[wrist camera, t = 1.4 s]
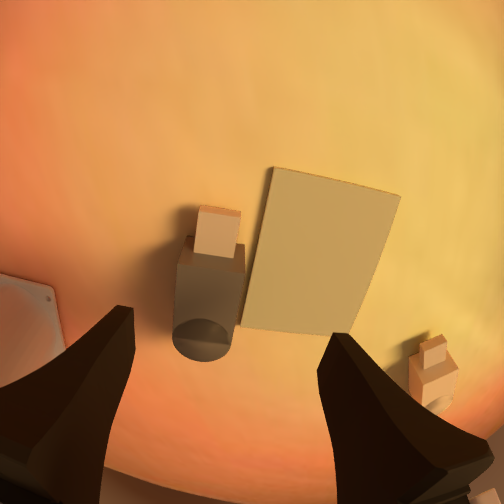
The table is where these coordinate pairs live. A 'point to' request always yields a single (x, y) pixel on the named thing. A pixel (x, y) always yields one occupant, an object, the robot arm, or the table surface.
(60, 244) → the table surface
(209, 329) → the tan-capped grey bottle
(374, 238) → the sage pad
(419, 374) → the ivory plug
